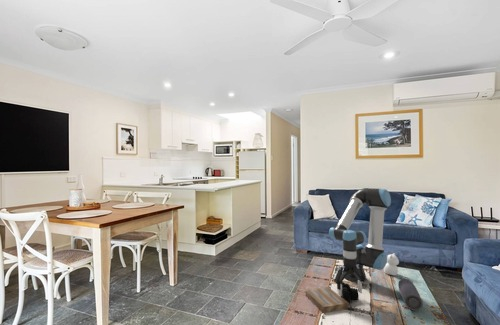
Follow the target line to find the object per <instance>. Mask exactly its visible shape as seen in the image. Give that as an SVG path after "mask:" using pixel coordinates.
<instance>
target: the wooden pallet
mask: <svg viewBox="0 0 500 325" xmlns="http://www.w3.org/2000/svg"><path fill="white" fill-rule="evenodd" d="M305 296H306V298H308V299H309V300H310V301H311V302H312V303H313V304H314V305H315V306H316V307H317V308H318V309H319V310H320V311H321V312H322V313H323V314H324V313H331V312H336V311H342V310H347V309H350V304H349V303H348V302H347V301H346V300H344V299H343V298H342V297H341V296H340V295H339V294H338V292H335V290H333V289H331V288H330V287H329V286H327V287H320V288H313V289H305Z"/></svg>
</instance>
